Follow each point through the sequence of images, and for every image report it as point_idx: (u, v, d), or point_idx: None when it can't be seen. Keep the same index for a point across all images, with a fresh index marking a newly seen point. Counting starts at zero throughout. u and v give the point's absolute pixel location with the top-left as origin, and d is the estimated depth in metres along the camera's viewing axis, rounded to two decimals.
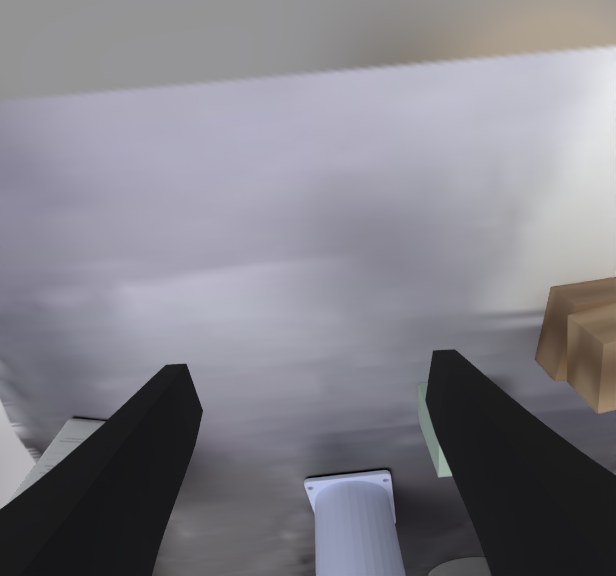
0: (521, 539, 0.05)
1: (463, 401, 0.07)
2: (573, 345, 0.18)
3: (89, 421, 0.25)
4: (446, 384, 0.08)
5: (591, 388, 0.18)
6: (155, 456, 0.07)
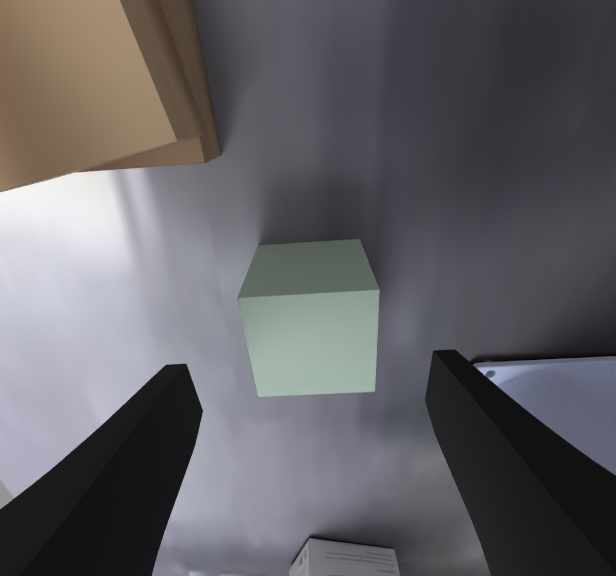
0: (521, 539, 0.05)
1: (463, 401, 0.07)
2: (91, 167, 0.10)
3: (294, 562, 0.28)
4: (446, 384, 0.08)
5: (128, 155, 0.08)
6: (155, 456, 0.07)
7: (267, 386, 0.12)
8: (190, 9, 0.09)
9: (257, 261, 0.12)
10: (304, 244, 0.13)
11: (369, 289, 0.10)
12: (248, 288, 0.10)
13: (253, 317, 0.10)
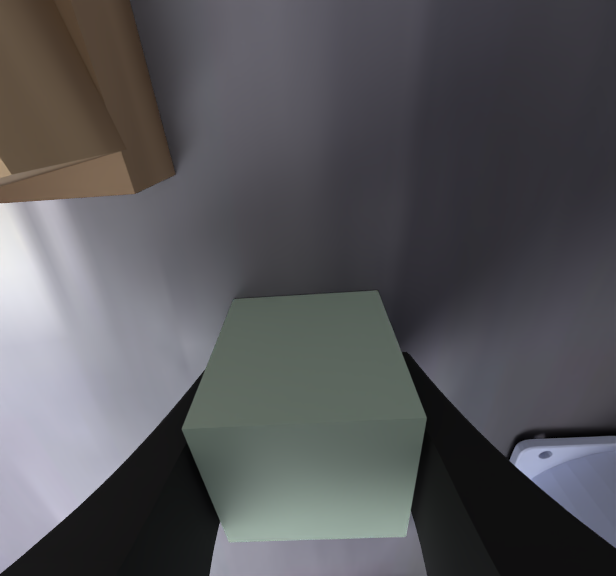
0: (444, 541, 0.06)
1: None
2: None
3: None
4: None
5: None
6: None
7: (242, 531, 0.08)
8: None
9: (227, 335, 0.08)
10: (298, 300, 0.09)
11: (408, 415, 0.06)
12: (204, 402, 0.06)
13: (212, 453, 0.06)
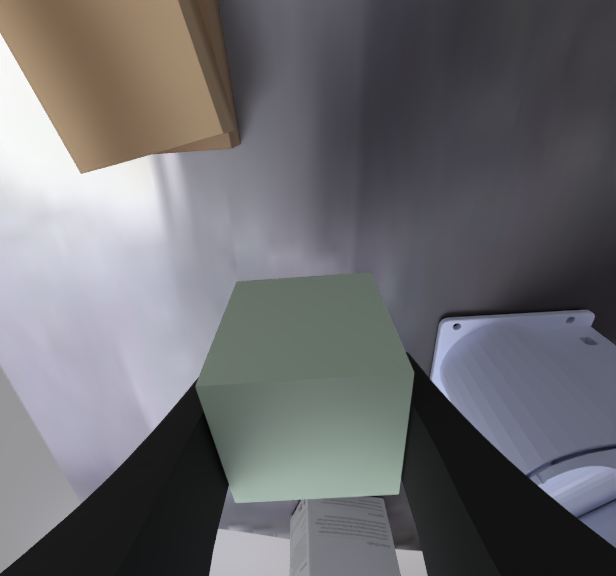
0: (444, 541, 0.06)
1: None
2: None
3: (295, 511, 0.32)
4: None
5: None
6: (211, 454, 0.07)
7: (247, 491, 0.08)
8: (221, 35, 0.13)
9: (232, 311, 0.09)
10: (298, 282, 0.10)
11: (398, 371, 0.06)
12: (214, 365, 0.07)
13: (222, 410, 0.07)
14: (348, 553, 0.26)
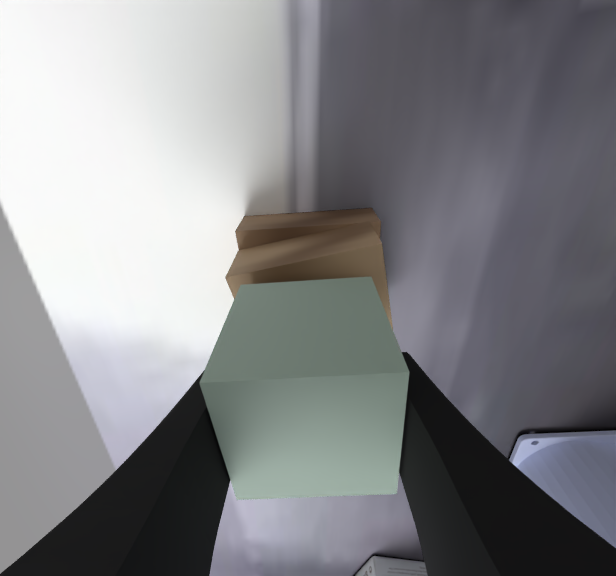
0: (444, 541, 0.06)
1: None
2: None
3: (357, 574, 0.34)
4: None
5: None
6: (211, 454, 0.07)
7: (248, 487, 0.08)
8: None
9: (236, 313, 0.09)
10: (300, 285, 0.10)
11: (394, 370, 0.07)
12: (218, 363, 0.07)
13: (224, 407, 0.07)
14: None
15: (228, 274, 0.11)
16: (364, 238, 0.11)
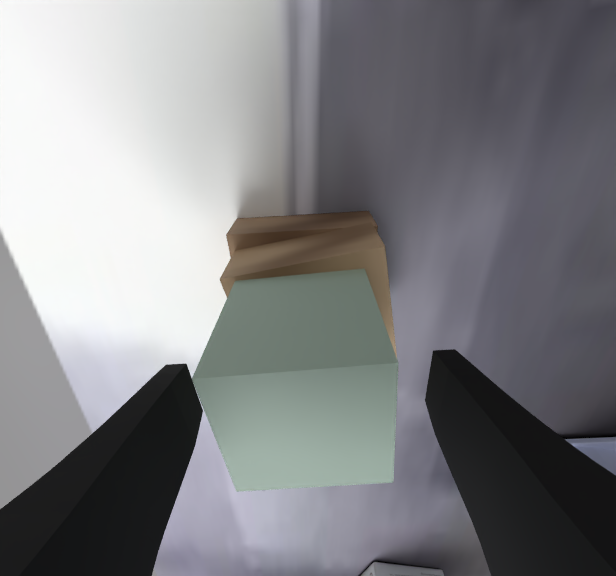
0: (521, 539, 0.05)
1: (463, 401, 0.07)
2: None
3: None
4: (446, 384, 0.08)
5: None
6: (155, 456, 0.07)
7: (247, 479, 0.09)
8: None
9: (230, 309, 0.09)
10: (293, 279, 0.10)
11: (383, 361, 0.07)
12: (210, 359, 0.07)
13: (218, 401, 0.07)
14: None
15: (223, 276, 0.11)
16: (367, 240, 0.11)
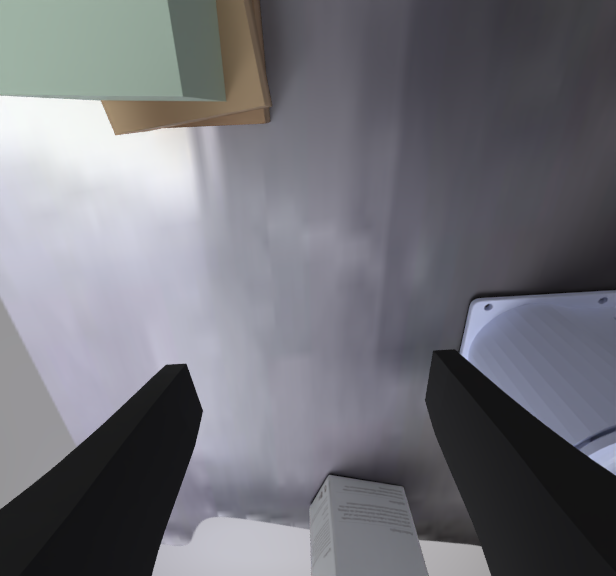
0: (521, 539, 0.05)
1: (463, 401, 0.07)
2: (184, 123, 0.13)
3: (314, 500, 0.31)
4: (446, 384, 0.08)
5: (224, 114, 0.12)
6: (155, 456, 0.07)
7: None
8: (259, 9, 0.13)
9: None
10: None
11: None
12: None
13: None
14: (372, 539, 0.26)
15: None
16: None
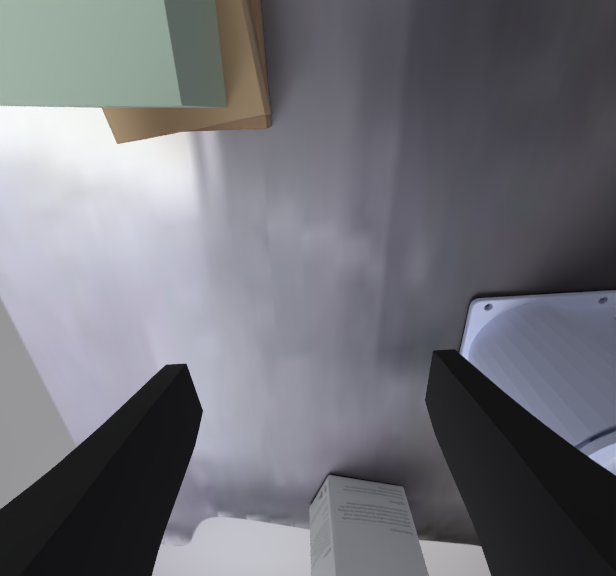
0: (521, 539, 0.05)
1: (463, 401, 0.07)
2: None
3: (314, 500, 0.31)
4: (446, 384, 0.08)
5: (225, 122, 0.12)
6: (155, 456, 0.07)
7: None
8: (261, 14, 0.13)
9: None
10: None
11: None
12: None
13: None
14: (372, 539, 0.26)
15: None
16: None
